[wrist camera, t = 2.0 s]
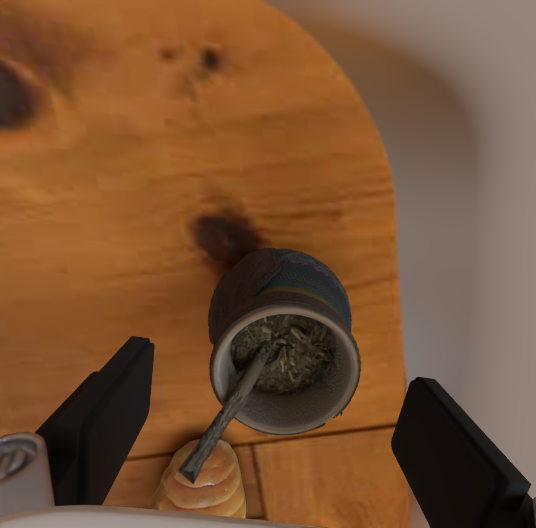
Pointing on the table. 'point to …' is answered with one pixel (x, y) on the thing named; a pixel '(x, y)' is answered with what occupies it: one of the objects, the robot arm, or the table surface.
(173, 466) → the pastry
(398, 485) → the table surface
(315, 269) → the mate gourd
